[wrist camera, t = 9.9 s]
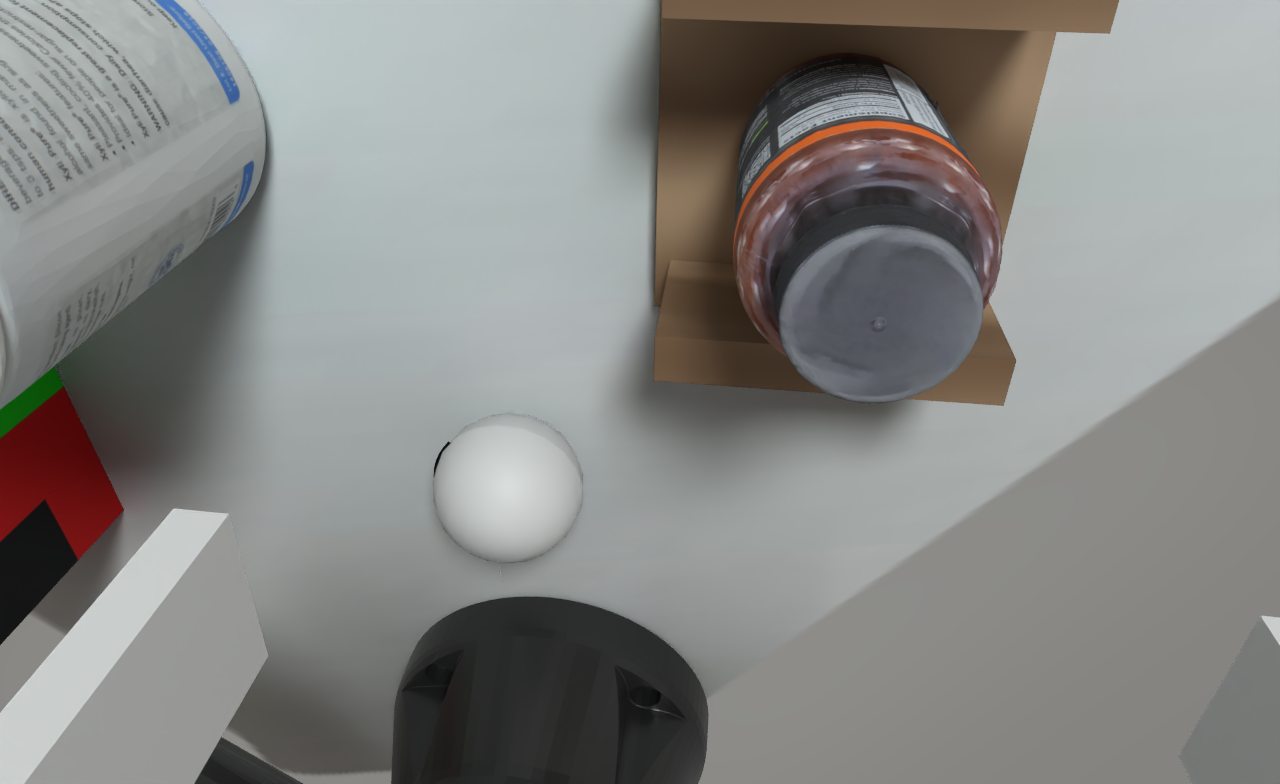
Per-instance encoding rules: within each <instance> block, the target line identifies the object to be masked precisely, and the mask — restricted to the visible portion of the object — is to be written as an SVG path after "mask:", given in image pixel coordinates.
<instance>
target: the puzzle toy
mask: <svg viewBox="0 0 1280 784" xmlns="http://www.w3.org/2000/svg"><path fill="white" fill-rule="evenodd" d="M123 511H124V509H123V507H122V505H121V503H120V501H119V499H118V497H117V495H116V493H115V491H114V488H113V486H112V484H111V482H110V480H109V478H108V476H107V474H106V472H105V470H104V468H103V466H102V464H101V462H100V460H99V458H98V456H97V454H96V452H95V450H94V448H93V446H92V443H91V441H90V439H89V437H88V435H87V433H86V431H85V429H84V427H83V425H82V423H81V421H80V419H79V417H78V415H77V413H76V411H75V409H74V407H73V405H72V403H71V401H70V398H69V396H68V394H67V392H66V390H65V388H64V386H63V384H62V382H61V380H60V378H59V376H58V374H57V372H56V370H55V368H54V367H52V368H51V369H50V370H49V371H47V372H46V373H45V374H44V375H43V376H41V377H40V378H39V379H38V380H36V381H35V382H34V383H33V384H32V385H30V386H29V387H28V388H27V389H26V390H24V391H23V392H22V393H21V394H19V395H18V396H17V397H16V398H15V399H13V400H12V401H10V402H9V403H8V404H6V405H5V406H4V407H3V408H1V409H0V645H1V644H2V643H3V641H4V640H5V639H6V638H7V637H8V636H9V635H10V634H11V633H12V632H13V631H14V629H15V628H16V627H17V626H18V625H19V624H20V623H21V622H22V621H23V620H24V618H25V617H26V616H27V615H28V614H29V613H30V612H31V611H32V610H33V609H34V608H35V607H36V605H37V604H38V603H39V602H40V601H41V600H42V599H43V598H44V597H45V596H46V595H47V593H48V592H49V591H50V590H51V589H52V588H53V587H54V586H55V585H56V584H57V583H58V581H59V580H60V579H61V578H62V577H63V576H64V575H65V574H66V573H67V572H68V571H69V569H70V568H71V567H72V566H73V565H74V564H75V563H76V562H77V561H78V560H79V559H80V557H81V556H82V555H83V554H84V553H85V552H86V551H87V550H88V549H89V548H90V547H91V545H92V544H93V543H94V542H95V541H96V540H97V539H98V538H99V537H100V536H101V535H102V533H103V532H104V531H105V530H106V529H107V528H108V527H109V526H110V525H111V524H112V523H113V521H114V520H115V519H116V518H117V517H118V516H119V515H120V514H121V513H122V512H123Z"/></svg>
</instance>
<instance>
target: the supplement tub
mask: <svg viewBox="0 0 1280 784" xmlns="http://www.w3.org/2000/svg"><path fill="white" fill-rule="evenodd" d="M265 149H266V135H265V123H264V117H263V111H262V107H261V103H260V99H259V96H258V93H257V91H256V88H255V85H254V83H253V81H252V79H251V76H250V74H249V72H248V70H247V68H246V66H245V64H244V62H243V60H242V59H241V57H240V55H239V53H238V52H237V50H236V48H235V47H234V45H233V44H232V42H231V40H230V39H229V37H228V36H227V34H226V33H225V31H224V30H223V29H222V28H221V26H220V25H219V24H218V23H217V21H216V20H215V19H214V18H213V17H212V15H211V14H210V13H209V12H208V11H207V10H206V9H205V8H204V7H203V6H202V5H201V4H200V3H199V2H198V1H197V0H0V409H1V408H3V407H4V406H5V405H6V404H8V403H9V402H10V401H12V400H13V399H15V398H16V397H17V396H18V395H19V394H21V393H22V392H23V391H24V390H26V389H27V388H28V387H29V386H30V385H32V384H33V383H34V382H35V381H36V380H38V379H39V378H40V377H41V376H43V375H44V374H45V373H46V372H47V371H49V370H50V369H51V368H52V367H54V366H55V365H56V364H57V363H58V362H60V361H61V360H62V359H63V358H64V357H66V356H67V355H68V354H69V353H71V352H72V351H73V350H74V349H75V348H77V347H78V346H79V345H80V344H82V343H83V342H84V341H85V340H87V339H88V338H89V337H90V336H91V335H93V334H94V333H95V332H96V331H98V330H99V329H100V328H101V327H102V326H104V325H105V324H106V323H107V322H109V321H110V320H111V319H112V318H113V317H115V316H116V315H117V314H118V313H120V312H121V311H122V310H123V309H125V308H126V307H127V306H128V305H129V304H131V303H132V302H133V301H134V300H136V299H137V298H138V297H139V296H140V295H142V294H143V293H144V292H145V291H146V290H148V289H149V288H150V287H151V286H152V285H154V284H155V283H156V282H157V281H159V280H160V279H161V278H162V277H163V276H165V275H166V274H167V273H168V272H169V271H171V270H172V269H173V268H174V267H176V266H177V265H178V264H179V263H180V262H182V261H183V260H184V259H185V258H186V257H188V256H189V255H191V254H192V253H193V252H194V251H196V250H197V249H198V248H199V247H200V246H202V245H203V244H204V243H205V242H206V241H208V240H209V239H210V238H211V237H212V236H214V235H215V234H216V233H217V232H219V231H220V230H221V229H222V228H224V227H225V226H226V225H227V224H229V223H230V222H231V221H232V220H234V219H235V218H236V217H237V216H238V215H239V214H240V212H241V211H242V210H243V209H244V208H245V206H246V205H247V204H248V202H249V201H250V199H251V198H252V196H253V194H254V193H255V190H256V188H257V185H258V183H259V181H260V178H261V174H262V170H263V167H264V160H265Z"/></svg>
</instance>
